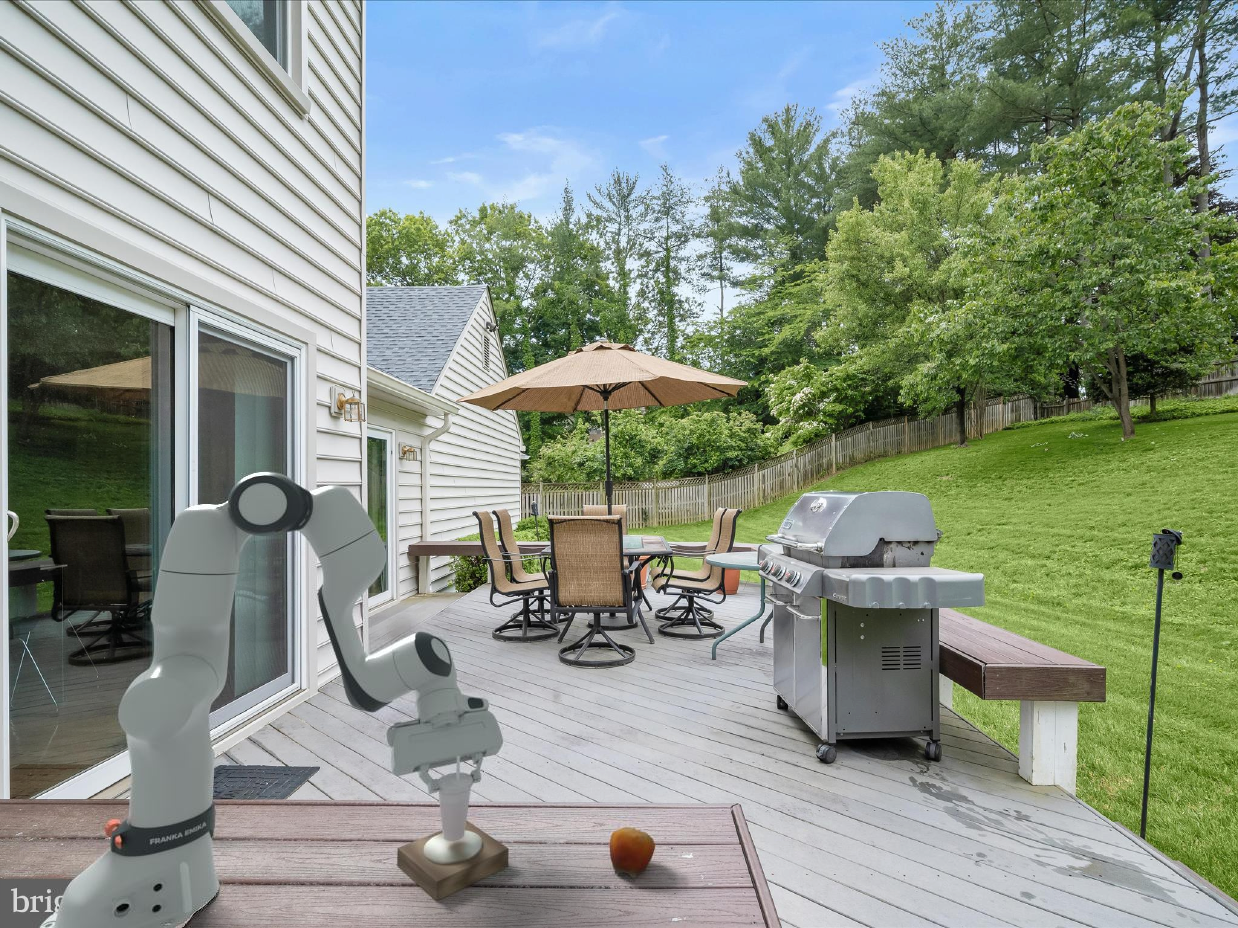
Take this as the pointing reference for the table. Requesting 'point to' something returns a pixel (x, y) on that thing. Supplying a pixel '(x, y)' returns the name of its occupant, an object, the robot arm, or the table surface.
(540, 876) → the table surface
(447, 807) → the smoothie
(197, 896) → the robot arm
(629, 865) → the fruit
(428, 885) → the stand
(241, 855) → the table surface
